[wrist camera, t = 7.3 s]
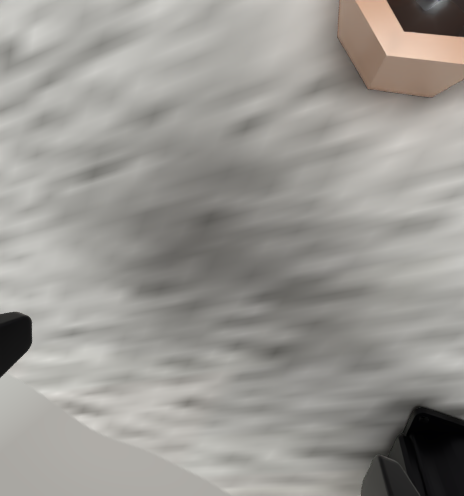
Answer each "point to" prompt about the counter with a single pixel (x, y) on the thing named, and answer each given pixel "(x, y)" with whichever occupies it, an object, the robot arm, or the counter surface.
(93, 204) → the counter surface
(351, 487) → the counter surface
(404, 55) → the octagonal copper jug
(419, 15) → the plunger
